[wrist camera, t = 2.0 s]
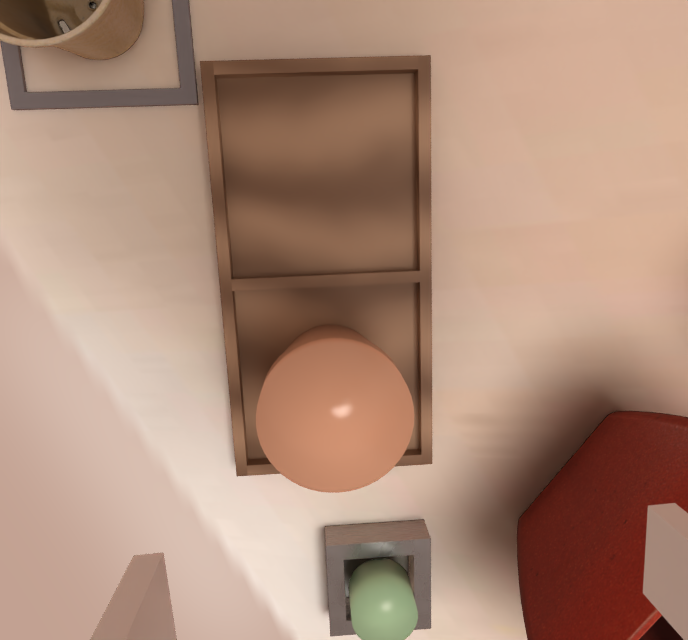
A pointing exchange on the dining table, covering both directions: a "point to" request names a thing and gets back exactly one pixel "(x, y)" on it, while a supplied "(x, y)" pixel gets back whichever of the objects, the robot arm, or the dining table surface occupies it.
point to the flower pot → (73, 25)
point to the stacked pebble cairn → (334, 411)
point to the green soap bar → (382, 601)
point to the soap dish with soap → (373, 544)
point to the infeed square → (110, 97)
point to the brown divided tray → (321, 219)
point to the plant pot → (601, 532)
